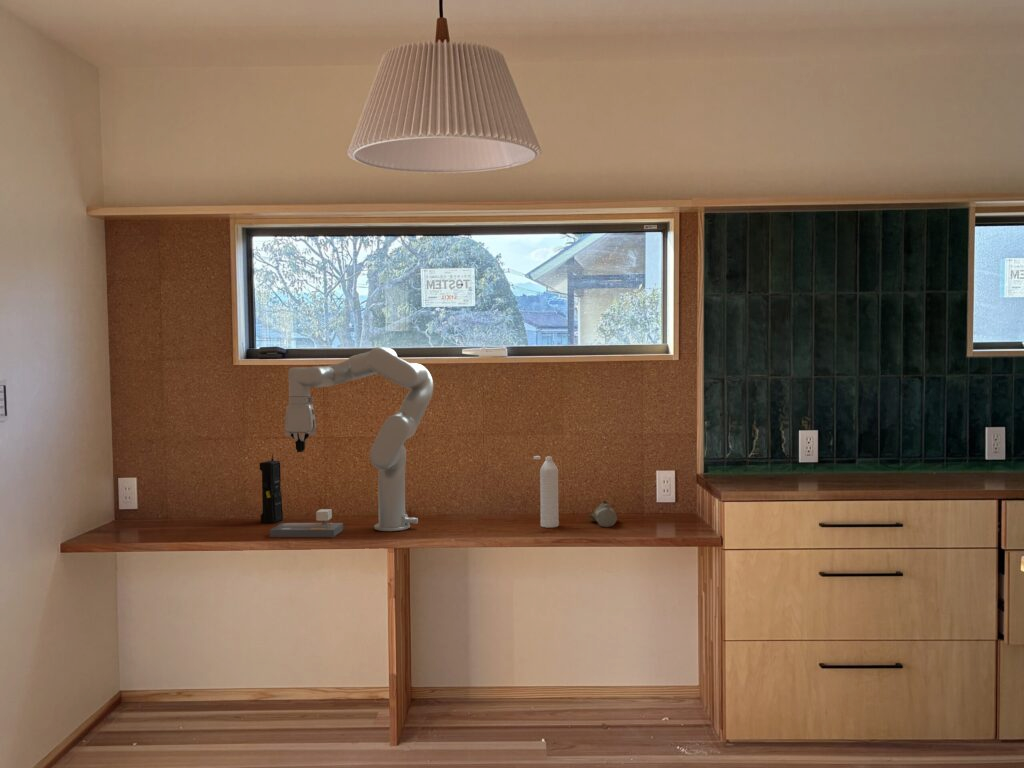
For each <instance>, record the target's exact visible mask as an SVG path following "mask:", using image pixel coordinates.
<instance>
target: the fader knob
mask: <svg viewBox="0 0 1024 768" xmlns="http://www.w3.org/2000/svg"><path fill="white" fill-rule="evenodd" d="M332 512H333V509H331V508H329V509H327V508H321V509H318V510H317V511H316V513H315V517H316V518H315V519H316V521H321V523H322V525H327V524H326V523H327V522H328V521H330V520H331V519H332V518H333V513H332Z"/></svg>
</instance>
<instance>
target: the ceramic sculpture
mask: <svg viewBox="0 0 1024 768" xmlns="http://www.w3.org/2000/svg"><path fill="white" fill-rule="evenodd" d="M618 515H619V514H618V513H616V512H615V510H614V509H613V507H612V506H611V504H610V503H608V501H603V502H602V503H601V504H598V505H597V506H596V507H595V510H594V512H593V513H589V514H588V519H589V520H591V521H592V522H597V524H598V525H599V526H600V527H603V528H610V527H613V526H614V525H615V524H616V522H617V520H618Z"/></svg>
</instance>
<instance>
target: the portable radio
mask: <svg viewBox="0 0 1024 768" xmlns="http://www.w3.org/2000/svg"><path fill="white" fill-rule="evenodd" d="M259 470H260V471H261V489H262V490H261V491H262V492H261V495H262V497H261V498H262V499H261V500H262V512H261V514H260V523H262V524H276V523H278V522H281V521H283V519H284V515H283V514H284V513H283V512H284V511H283V499H282V498H283V496H282V491H281V490H282V487H281V481H282V479H281V478H282V477H281V462H280V460H274V455H273V453H272V454H271V460H267V461H263V462H259Z"/></svg>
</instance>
